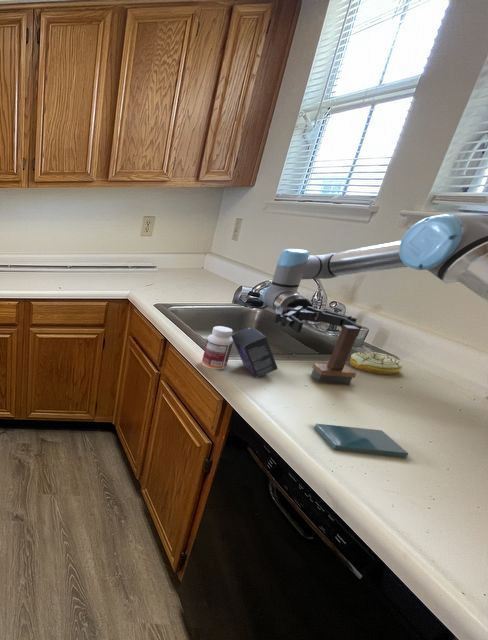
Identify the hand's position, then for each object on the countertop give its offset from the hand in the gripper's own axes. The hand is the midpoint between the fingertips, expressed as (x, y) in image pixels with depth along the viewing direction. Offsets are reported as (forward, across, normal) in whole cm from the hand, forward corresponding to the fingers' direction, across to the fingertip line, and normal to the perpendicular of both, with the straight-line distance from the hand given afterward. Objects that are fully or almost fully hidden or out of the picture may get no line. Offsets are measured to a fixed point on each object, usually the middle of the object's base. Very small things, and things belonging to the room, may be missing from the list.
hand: (328, 329), depth 110 cm
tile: (+38, +9, -11) cm, 41 cm away
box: (+6, +16, -10) cm, 20 cm away
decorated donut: (-4, -16, -12) cm, 20 cm away
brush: (+8, 0, -12) cm, 14 cm away
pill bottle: (+4, +27, -12) cm, 30 cm away
